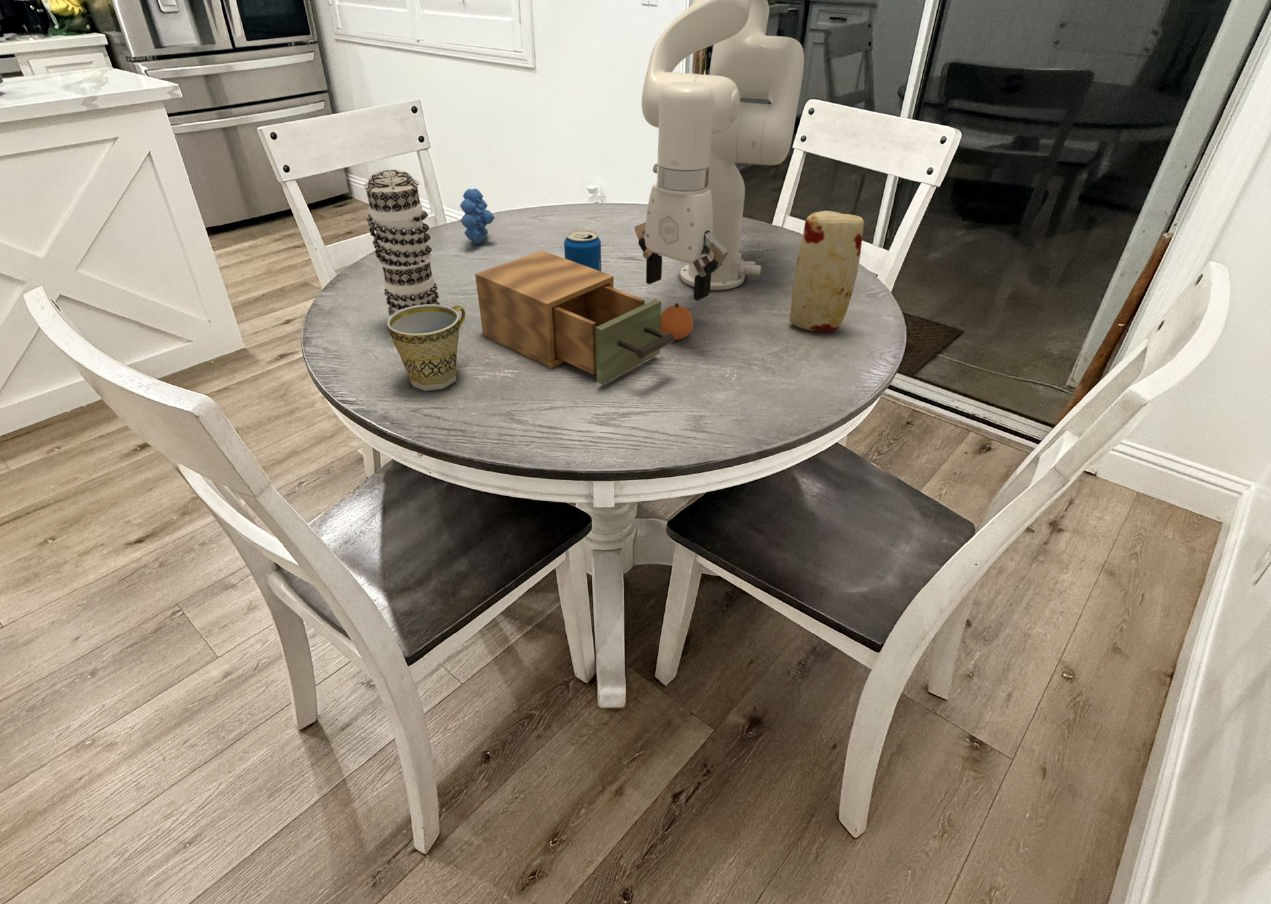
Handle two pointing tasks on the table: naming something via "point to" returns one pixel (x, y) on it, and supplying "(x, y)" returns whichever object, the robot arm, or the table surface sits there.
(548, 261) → the cabinet
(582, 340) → the drawer
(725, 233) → the robot arm
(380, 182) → the decorative candle
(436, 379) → the ceramic cup
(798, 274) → the food model
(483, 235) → the grapes
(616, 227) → the table surface
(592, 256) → the beverage can
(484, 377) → the table surface
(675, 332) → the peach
